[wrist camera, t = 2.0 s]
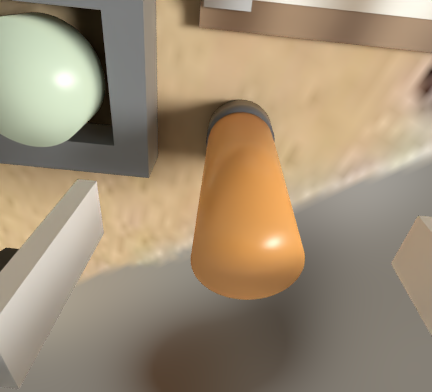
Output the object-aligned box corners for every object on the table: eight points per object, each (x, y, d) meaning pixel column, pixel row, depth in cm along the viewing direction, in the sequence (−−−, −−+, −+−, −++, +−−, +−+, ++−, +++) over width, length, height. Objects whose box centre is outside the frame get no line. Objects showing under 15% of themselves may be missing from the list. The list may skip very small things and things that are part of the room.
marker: (205, 155, 22) (185, 296, 12) (210, 96, 20) (190, 209, 10) (264, 161, 22) (292, 305, 12) (276, 103, 20) (322, 223, 10)
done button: (12, 120, 19) (-21, 141, 17) (-22, 5, 16) (-69, 10, 13) (110, 130, 19) (92, 152, 17) (98, 18, 16) (74, 25, 13)
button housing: (2, 140, 22) (-27, 160, 20) (-62, -60, 16) (-116, -68, 13) (158, 156, 22) (149, 177, 20) (155, -35, 16) (141, -39, 14)
